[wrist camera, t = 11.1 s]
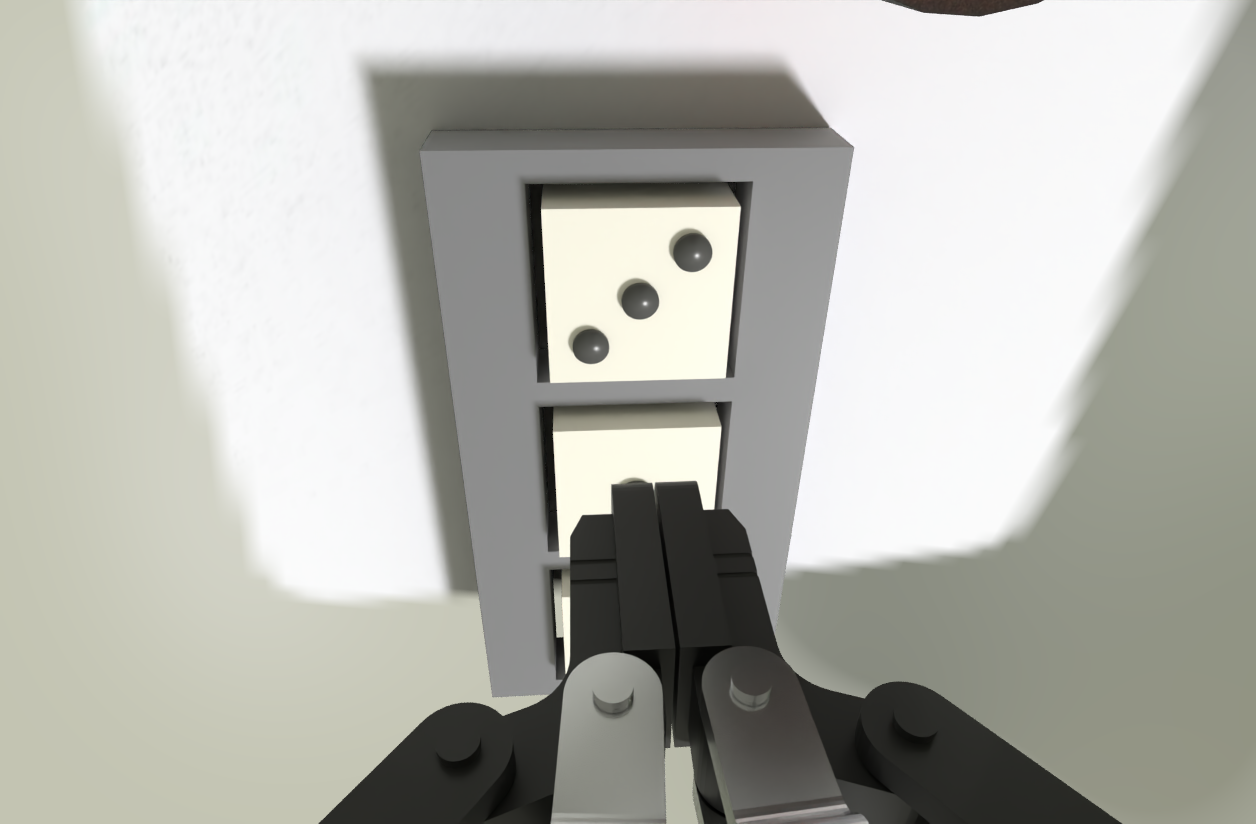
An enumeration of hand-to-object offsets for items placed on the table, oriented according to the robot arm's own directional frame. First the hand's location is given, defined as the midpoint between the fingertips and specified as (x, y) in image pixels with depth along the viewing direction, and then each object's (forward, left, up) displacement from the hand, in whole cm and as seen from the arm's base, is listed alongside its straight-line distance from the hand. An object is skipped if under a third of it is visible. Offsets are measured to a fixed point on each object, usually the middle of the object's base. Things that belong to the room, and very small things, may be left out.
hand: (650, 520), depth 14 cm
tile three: (+1, +2, -15) cm, 15 cm away
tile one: (+7, +7, -15) cm, 18 cm away
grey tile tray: (+7, +7, -16) cm, 18 cm away
